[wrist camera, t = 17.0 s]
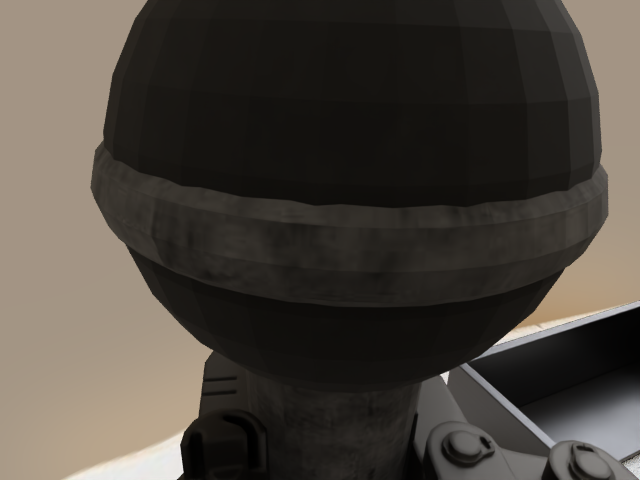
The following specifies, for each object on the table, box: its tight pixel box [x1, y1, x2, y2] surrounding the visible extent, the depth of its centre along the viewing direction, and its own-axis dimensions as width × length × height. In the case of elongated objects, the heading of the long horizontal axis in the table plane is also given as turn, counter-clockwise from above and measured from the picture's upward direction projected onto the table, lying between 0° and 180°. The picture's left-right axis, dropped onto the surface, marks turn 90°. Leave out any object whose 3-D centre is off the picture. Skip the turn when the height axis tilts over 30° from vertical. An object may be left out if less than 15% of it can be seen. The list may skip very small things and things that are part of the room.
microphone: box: [91, 0, 608, 480], centre depth 10 cm, size 7×7×20 cm
